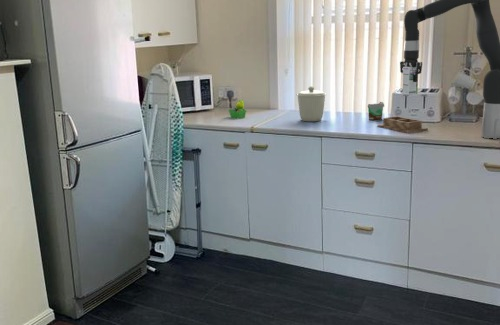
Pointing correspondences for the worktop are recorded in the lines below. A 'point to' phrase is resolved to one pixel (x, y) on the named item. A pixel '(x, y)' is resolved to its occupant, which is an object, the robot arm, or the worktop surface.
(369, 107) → the food container
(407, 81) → the syrup box
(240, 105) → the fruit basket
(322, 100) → the canister
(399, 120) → the walnut socket rail
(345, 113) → the worktop surface
